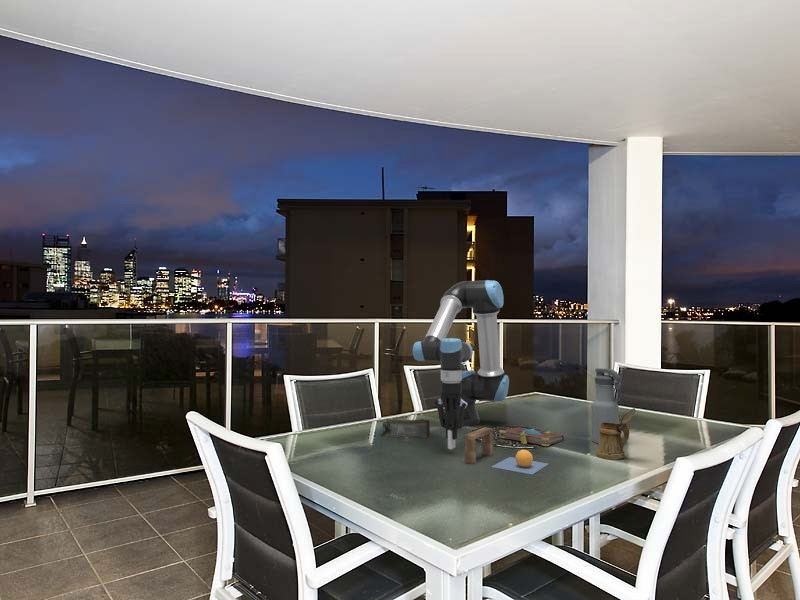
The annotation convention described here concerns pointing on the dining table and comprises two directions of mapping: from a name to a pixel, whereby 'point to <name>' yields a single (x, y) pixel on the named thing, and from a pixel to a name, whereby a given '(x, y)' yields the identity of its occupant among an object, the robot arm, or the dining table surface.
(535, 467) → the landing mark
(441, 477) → the dining table surface
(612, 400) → the water bottle
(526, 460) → the ball
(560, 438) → the book
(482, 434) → the bridge
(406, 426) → the beverage carton
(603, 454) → the wooden mug
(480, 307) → the robot arm
